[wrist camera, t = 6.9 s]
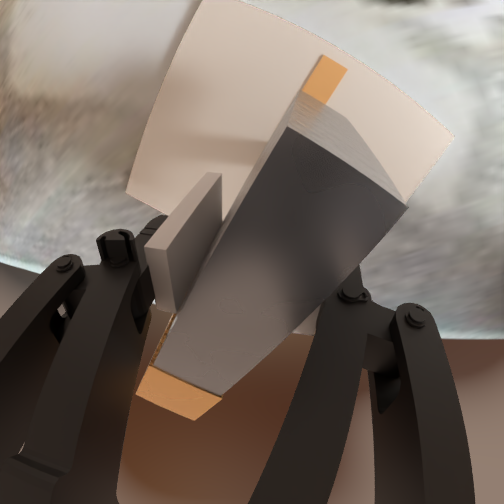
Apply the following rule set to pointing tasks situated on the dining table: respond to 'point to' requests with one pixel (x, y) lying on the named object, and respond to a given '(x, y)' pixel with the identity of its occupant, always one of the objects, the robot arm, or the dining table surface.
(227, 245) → the grey slab
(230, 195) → the post base
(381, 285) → the dining table surface
